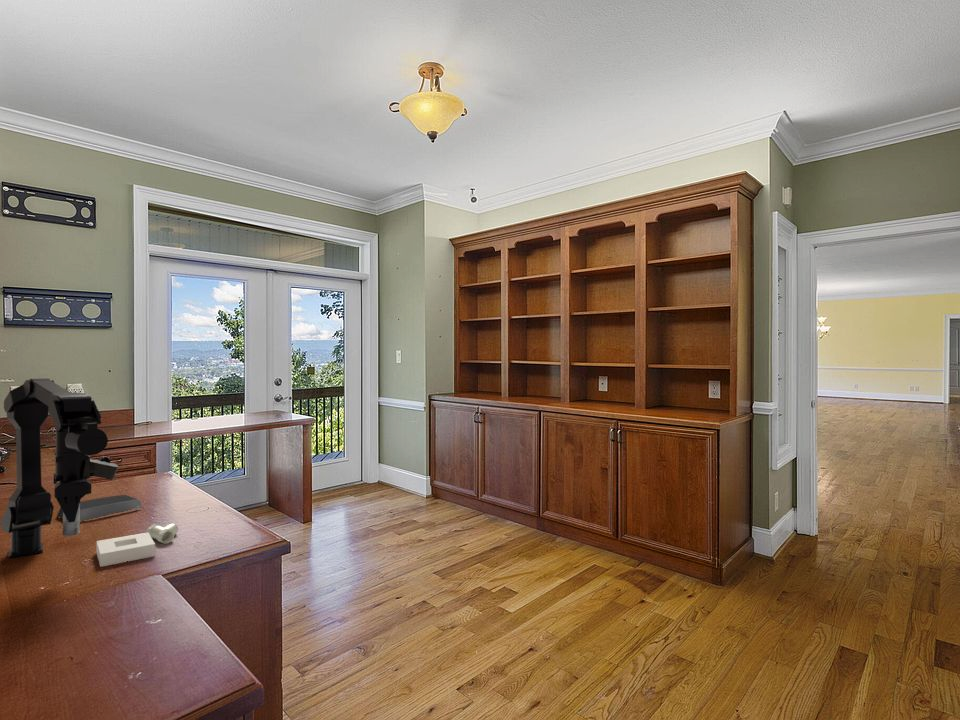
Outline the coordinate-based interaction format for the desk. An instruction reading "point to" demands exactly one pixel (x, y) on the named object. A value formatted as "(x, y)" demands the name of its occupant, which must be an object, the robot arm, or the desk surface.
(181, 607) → the desk surface
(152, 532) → the pipe fitting
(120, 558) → the hole block
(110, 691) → the desk surface
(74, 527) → the metal peg
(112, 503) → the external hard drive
